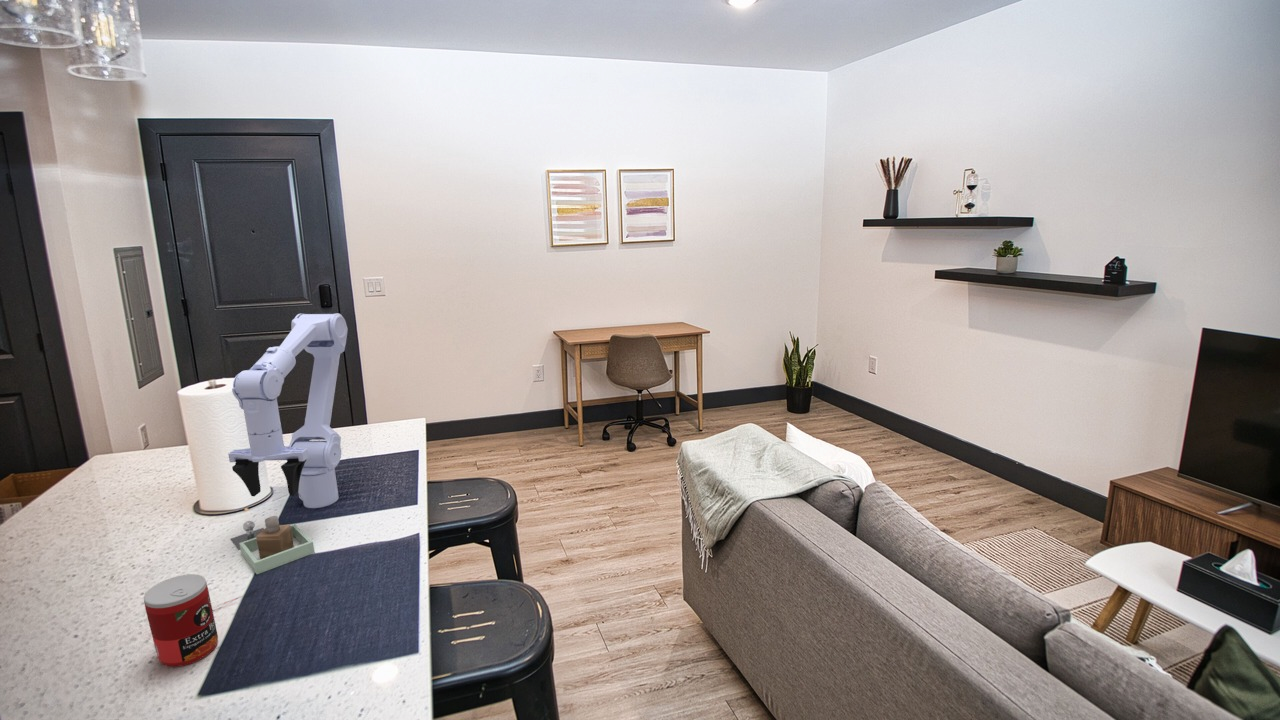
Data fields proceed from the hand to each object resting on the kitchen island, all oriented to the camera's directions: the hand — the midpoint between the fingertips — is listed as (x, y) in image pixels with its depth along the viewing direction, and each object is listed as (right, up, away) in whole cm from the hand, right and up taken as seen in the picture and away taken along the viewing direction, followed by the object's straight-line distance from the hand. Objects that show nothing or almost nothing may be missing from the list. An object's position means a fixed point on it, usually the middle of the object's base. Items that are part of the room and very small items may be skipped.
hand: (275, 493), depth 126 cm
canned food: (+3, -18, -28) cm, 34 cm away
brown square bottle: (+3, -11, -4) cm, 12 cm away
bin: (+3, -12, -4) cm, 13 cm away
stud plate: (-6, -10, +1) cm, 12 cm away
